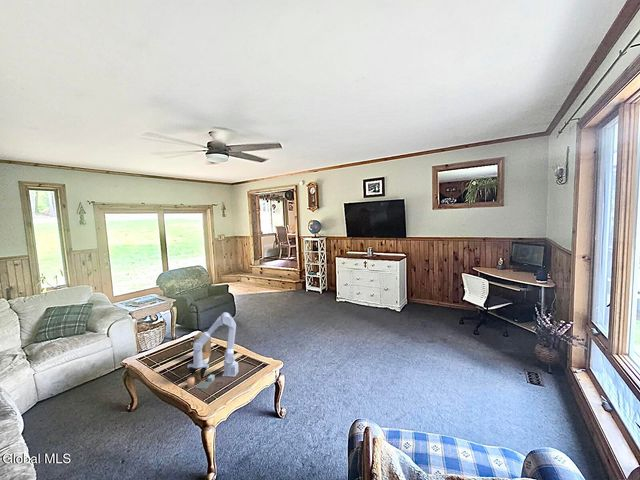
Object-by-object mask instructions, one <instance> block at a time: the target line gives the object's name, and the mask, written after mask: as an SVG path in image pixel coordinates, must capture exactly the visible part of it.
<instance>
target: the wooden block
mask: <svg viewBox="0 0 640 480" xmlns="http://www.w3.org/2000/svg"><path fill="white" fill-rule="evenodd" d="M204 332H205V331H200V332H198V333H196V334H195V335H194V336H193V343H194V342H195V341H196V340H197V339H199V338H200V336H201V334H202V333H204ZM203 352H206V353H209V358H211V355H212V337H211V338H210V339H209V340H208V341H207V342H206V343H205V344H204V345H203V348H202V353H203Z"/></svg>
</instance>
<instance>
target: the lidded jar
mask: <svg viewBox="0 0 640 480" xmlns="http://www.w3.org/2000/svg"><path fill="white" fill-rule="evenodd" d="M202 358H203V364H207V365H208V363H209V361H210V357H209V353H206V352H203V353H202Z"/></svg>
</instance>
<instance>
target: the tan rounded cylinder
mask: <svg viewBox="0 0 640 480" xmlns="http://www.w3.org/2000/svg"><path fill="white" fill-rule="evenodd" d="M186 381H187V382H186V383H187V384H186V385H187V388H189V389H191V388H195V387H196V386H195V383H196V382H195V378H194V377H192V376H190V377H188V378H187V379H186Z"/></svg>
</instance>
